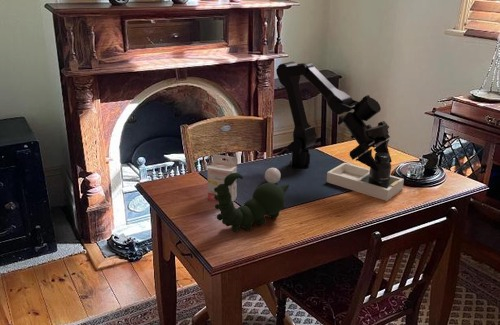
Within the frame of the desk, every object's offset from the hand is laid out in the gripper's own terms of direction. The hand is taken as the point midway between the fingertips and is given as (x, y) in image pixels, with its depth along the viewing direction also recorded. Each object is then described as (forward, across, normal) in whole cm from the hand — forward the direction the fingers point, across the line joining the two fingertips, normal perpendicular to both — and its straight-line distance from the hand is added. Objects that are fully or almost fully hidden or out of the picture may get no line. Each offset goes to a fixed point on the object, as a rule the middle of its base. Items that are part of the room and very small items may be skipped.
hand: (384, 166), depth 166 cm
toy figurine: (-6, -46, +20) cm, 50 cm away
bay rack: (+2, 0, +11) cm, 11 cm away
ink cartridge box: (-19, -40, +32) cm, 55 cm away
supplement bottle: (+5, 0, +7) cm, 8 cm away
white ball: (-16, -20, +30) cm, 39 cm away
